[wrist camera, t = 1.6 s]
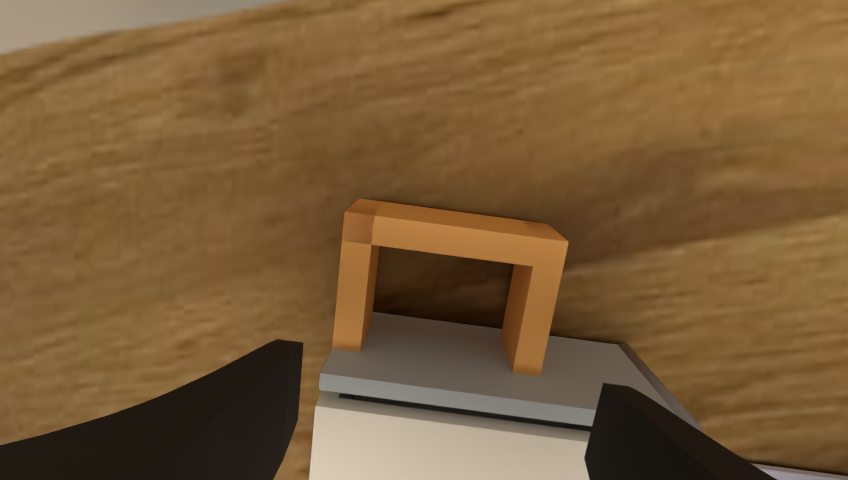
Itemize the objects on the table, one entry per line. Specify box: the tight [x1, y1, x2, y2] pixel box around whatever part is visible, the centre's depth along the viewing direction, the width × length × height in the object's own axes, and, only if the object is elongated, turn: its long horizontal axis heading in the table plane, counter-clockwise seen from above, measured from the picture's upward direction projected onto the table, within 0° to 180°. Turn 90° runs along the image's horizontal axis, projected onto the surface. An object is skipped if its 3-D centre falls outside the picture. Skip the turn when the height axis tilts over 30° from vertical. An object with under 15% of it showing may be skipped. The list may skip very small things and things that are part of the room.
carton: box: [309, 390, 592, 480], centre depth 18 cm, size 12×8×6 cm, turn 83°
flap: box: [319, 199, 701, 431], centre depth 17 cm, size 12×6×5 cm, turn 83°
